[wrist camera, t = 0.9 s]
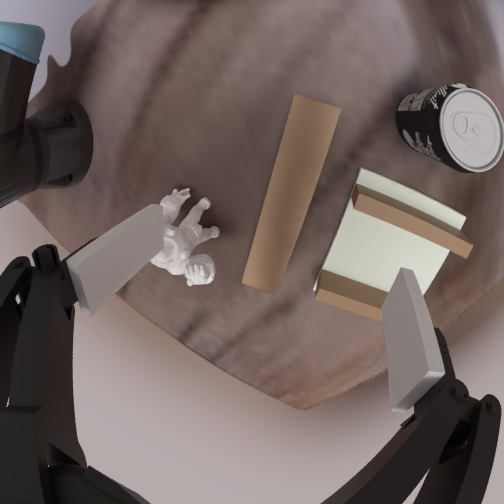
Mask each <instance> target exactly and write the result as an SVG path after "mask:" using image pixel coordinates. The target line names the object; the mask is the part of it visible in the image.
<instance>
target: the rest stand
mask: <svg viewBox="0 0 504 504" xmlns="http://www.w3.org/2000/svg"><path fill="white" fill-rule="evenodd" d="M465 219H466V217H465V216H464V215H463V214H461V213H459V212H458V211H456V210H454V209H452V208H450V207H448V206H446V205H445V204H443V203H441V202H439V201H437V200H435V199H433V198H431V197H429V196H427V195H425V194H423V193H421V192H419V191H417V190H414V189H412V188H410V187H408V186H406V185H404V184H401V183H399V182H397V181H395V180H392V179H390V178H388V177H385V176H383V175H380V174H378V173H376V172H373V171H371V170H368V169H366V168H363V167H361V166H360V169H359V172H358V175H357V178H356V181H355V184H354V186H353V189H352V192H351V195H350V197H349V200H348V203H347V205H346V208H345V211H344V213H343V216H342V218H341V221H340V224H339V226H338V229H337V231H336V234H335V236H334V239H333V241H332V244H331V246H330V248H329V251H328V253H327V256H326V258H325V260H324V263H323V265H322V267H321V270H320V272H319V274H318V277H317V279H316V281H315V283H314V286H313V290H315V291H316V293H315V299H316V300H319V301H321V302H324V303H327V304H330V305H333V306H336V307H339V308H342V309H345V310H348V311H351V312H354V313H357V314H360V315H363V316H366V317H369V318H373V319H376V320H379V321H382V322H383V317H382V310H381V307H382V305H383V303H384V301H385V299H386V297H387V295H388V293H389V291H390V289H391V287H392V285H393V283H394V281H395V279H396V276H397V274H398V272H399V270H400V268H401V267H403V268H407V269H410V270H413V271H414V274H415V276H416V279H417V281H418V284H419V287H420V289H421V292H422V295H424V293H425V292H426V290H427V289H428V287H429V285H430V284H431V282H432V281H433V279H434V277H435V276H436V274H437V272H438V271H439V269H440V267H441V265H442V264H443V262H444V260H445V258H446V257H447V255H448V253H449V251H452V252H454V253H456V254H458V255H460V256H462V257H464V258H466V259H467V257H468V255H469V253H470V251H471V250H472V248H473V245H472V244H471V242H470V241H469V240H468V239H467V238H466V236H465V235H464V234H463V233H462V232H461V231H460V230H461V227H462V225H463V223H464V221H465Z"/></svg>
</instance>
